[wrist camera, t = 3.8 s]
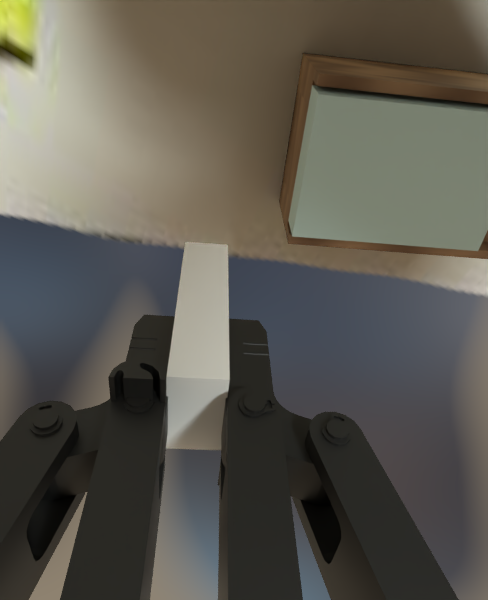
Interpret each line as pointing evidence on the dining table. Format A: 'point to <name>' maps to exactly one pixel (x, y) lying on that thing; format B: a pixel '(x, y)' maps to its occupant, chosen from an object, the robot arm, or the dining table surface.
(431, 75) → the box
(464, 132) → the lid
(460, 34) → the dining table surface
